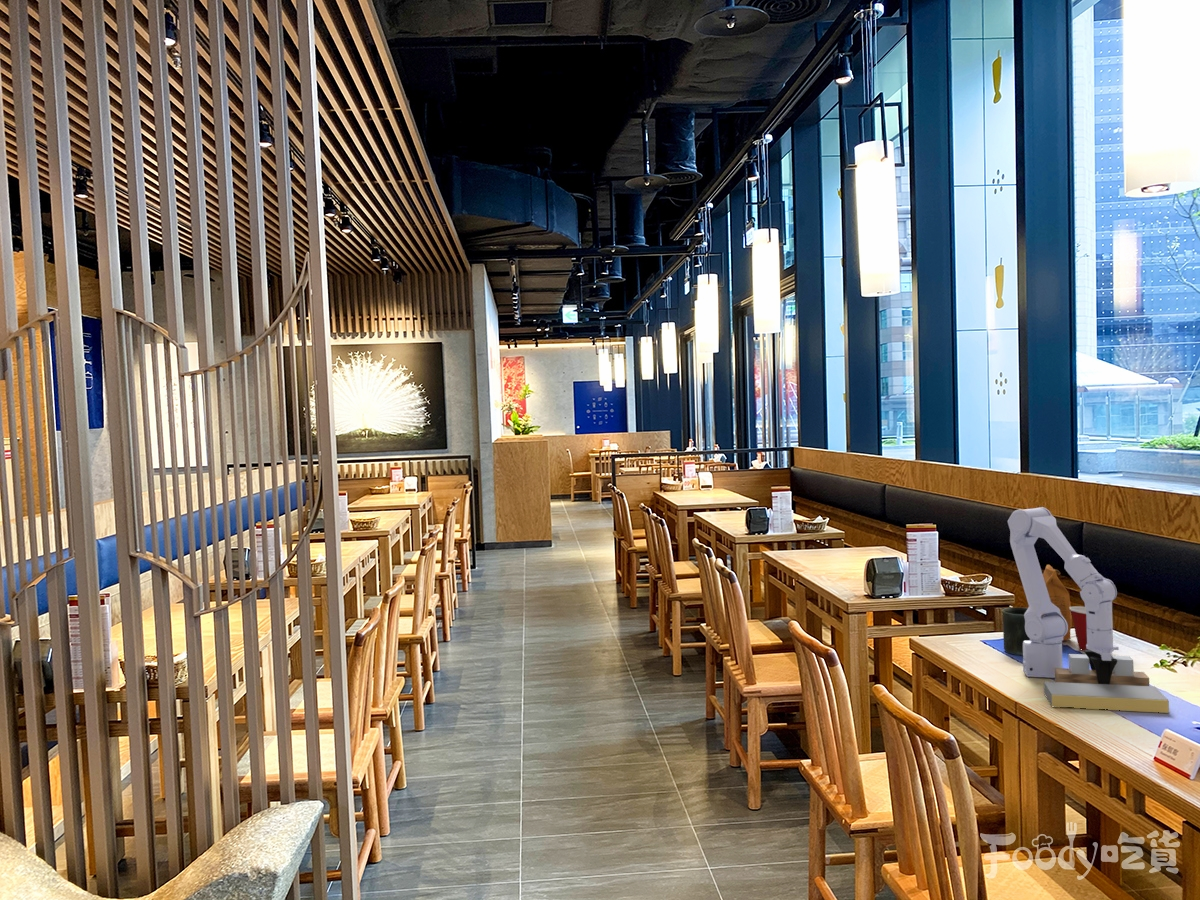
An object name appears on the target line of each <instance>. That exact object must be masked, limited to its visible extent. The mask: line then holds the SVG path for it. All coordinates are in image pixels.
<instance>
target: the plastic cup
mask: <svg viewBox="0 0 1200 900" xmlns="http://www.w3.org/2000/svg"><path fill="white" fill-rule="evenodd" d="M1069 610H1070V612H1071V619H1072V621H1073V622H1072V624H1073V627H1074V632H1075V633H1074V634H1075V637H1076V640H1077V647H1078V649H1079V648H1080V649H1082V650H1081V651H1083V650H1088V649H1087V648H1086V645H1087V621H1086V608H1085V606H1081V605H1080V606H1070V608H1069ZM1080 649H1079V650H1080Z"/></svg>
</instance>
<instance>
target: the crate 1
mask: <svg viewBox="0 0 1200 900" xmlns="http://www.w3.org/2000/svg"><path fill="white" fill-rule="evenodd" d="M1068 669H1069V670H1070V672H1071V673H1072V674H1090V670H1091V667H1090V663H1089V658H1088V656H1087V655H1086V653H1085V654H1083V653H1082V654H1081V653H1078V654H1077V653H1068Z"/></svg>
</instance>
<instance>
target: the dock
mask: <svg viewBox="0 0 1200 900" xmlns="http://www.w3.org/2000/svg"><path fill="white" fill-rule="evenodd" d="M1043 689H1044V691H1043V693H1045V694H1044V695H1046V696H1047V697H1046V696H1045V697H1046V699H1047V698H1048V699H1047V700H1049V701H1048V703H1049V702H1050V703H1051V704H1050V703H1049V704H1050V706H1051V705H1052V706H1056V707H1055V708H1060V707H1074V708H1073V709H1080V708H1086V709H1085V710H1099V709H1105V710H1106V709H1108V710H1107V711H1119V710H1120V711H1121V712H1123V711H1124V712H1141V713H1142V712H1144V713H1158V712H1159V713H1162V714H1170V703H1169V702H1170V701H1169V699H1168V698H1167V697H1166V696H1165V695H1164V694H1163V693H1162V692H1161V691H1160V690H1159V689H1158V688H1157V687H1156V686H1155V685H1154V686H1153V685H1149V686H1133V685H1110V684H1087V683H1064V682H1055V681H1044V682H1043ZM1052 706H1051V707H1052ZM1105 710H1104V711H1105Z"/></svg>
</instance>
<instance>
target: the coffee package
mask: <svg viewBox="0 0 1200 900" xmlns="http://www.w3.org/2000/svg"><path fill="white" fill-rule="evenodd" d="M1042 574H1043V577H1044V581H1045V584H1046V587H1047V591H1048V594H1049V597H1050V600H1051V603H1053V604H1054V605H1055V606H1057V607H1058V608H1059V609H1060V612H1061V614H1062V616H1063V617H1064V618H1065V620H1066V622H1067V624H1068V631H1067V633H1066V635H1065V636H1063V641H1066V640H1071V629H1072V625H1073V622H1072V621H1073V619H1072V615H1071V611H1070V610H1069V608H1070V607H1071V602H1070V601H1071V599H1070V593H1069V591H1068V590H1067V588H1066V586H1065V585H1064V584H1063V583H1062V581H1061V580H1060V579H1059V577H1058V576H1060V575H1061V572H1060V571H1059V570H1058V569H1055V568H1053V566H1051V565H1050V564H1046V566H1045V569H1044V571H1043V572H1042ZM1041 616H1044V615H1041Z"/></svg>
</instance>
